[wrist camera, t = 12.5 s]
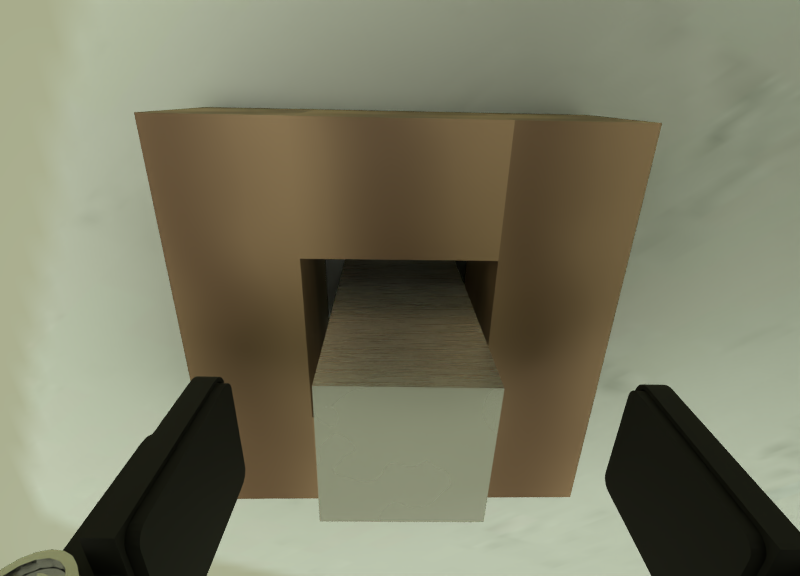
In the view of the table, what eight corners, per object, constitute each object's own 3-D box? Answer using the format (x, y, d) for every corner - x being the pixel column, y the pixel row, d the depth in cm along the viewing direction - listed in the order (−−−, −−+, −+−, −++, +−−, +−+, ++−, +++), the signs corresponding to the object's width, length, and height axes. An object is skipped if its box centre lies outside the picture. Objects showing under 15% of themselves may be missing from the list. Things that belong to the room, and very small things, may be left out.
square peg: (446, 240, 18) (504, 388, 9) (440, 325, 20) (483, 522, 11) (350, 238, 18) (312, 386, 9) (351, 323, 20) (319, 521, 11)
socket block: (585, 114, 16) (662, 123, 12) (532, 413, 22) (569, 496, 17) (207, 107, 16) (133, 112, 11) (252, 413, 22) (215, 498, 17)
